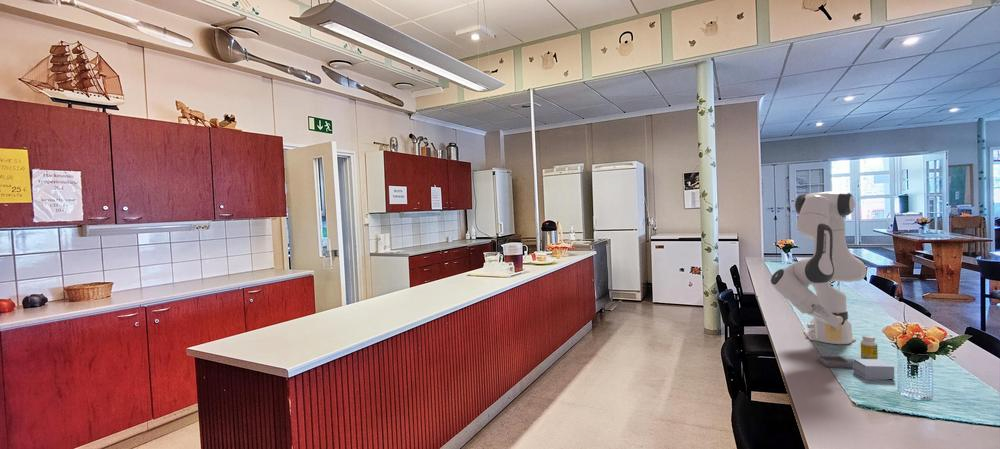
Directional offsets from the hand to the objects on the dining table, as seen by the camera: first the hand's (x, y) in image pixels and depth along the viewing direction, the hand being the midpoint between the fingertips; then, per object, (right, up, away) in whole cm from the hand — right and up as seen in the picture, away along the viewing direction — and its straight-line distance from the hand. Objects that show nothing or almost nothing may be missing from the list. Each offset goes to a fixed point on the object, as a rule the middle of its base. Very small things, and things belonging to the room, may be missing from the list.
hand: (835, 326), depth 181 cm
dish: (0, -15, +1) cm, 15 cm away
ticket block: (+5, -15, -13) cm, 21 cm away
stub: (0, -5, 0) cm, 5 cm away
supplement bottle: (+17, -15, +4) cm, 23 cm away
